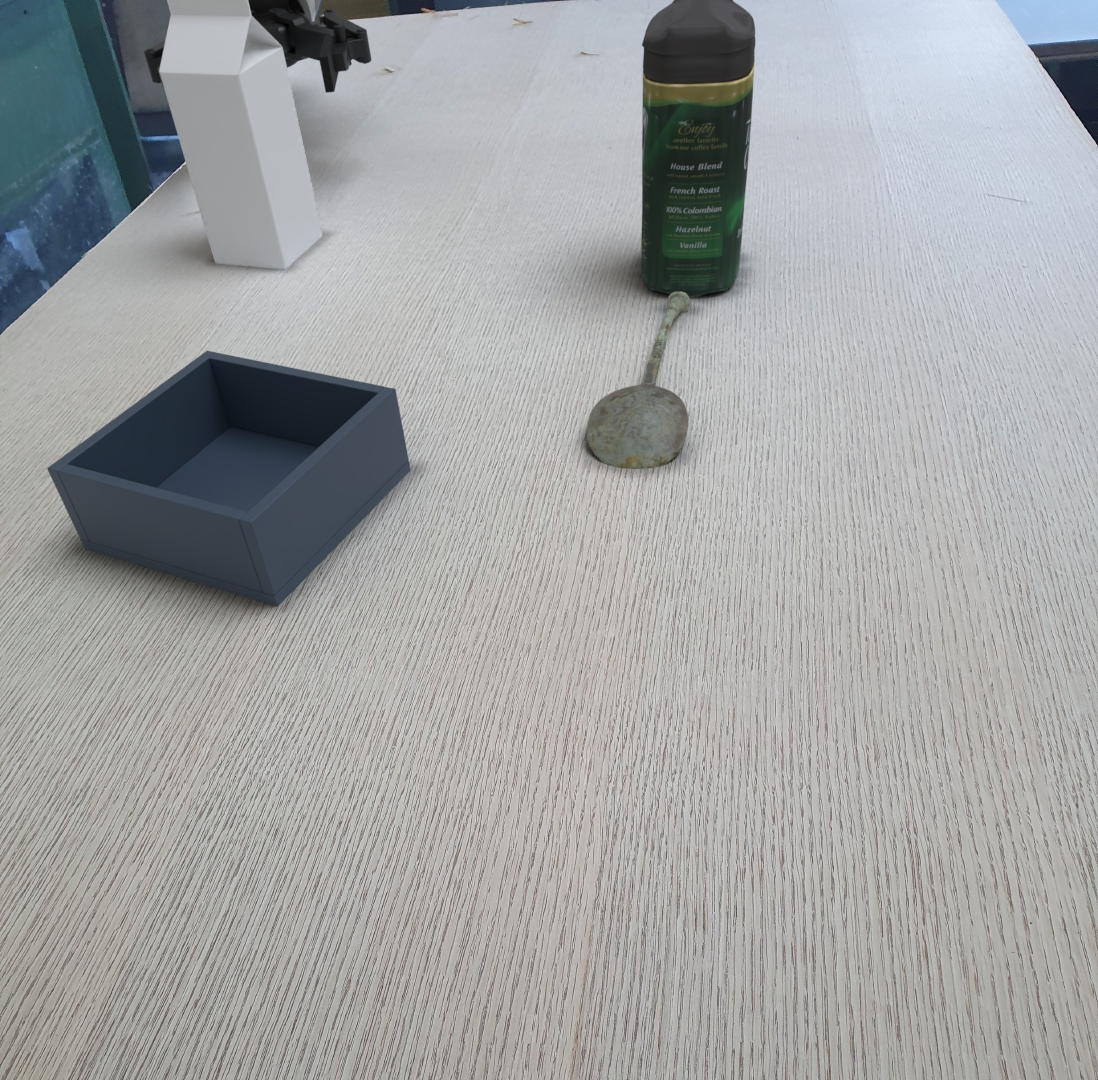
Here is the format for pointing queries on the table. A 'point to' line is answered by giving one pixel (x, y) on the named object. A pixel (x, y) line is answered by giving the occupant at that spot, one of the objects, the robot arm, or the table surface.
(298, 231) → the milk carton
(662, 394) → the soupspoon
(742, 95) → the coffee jar
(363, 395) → the bin
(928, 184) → the table surface
